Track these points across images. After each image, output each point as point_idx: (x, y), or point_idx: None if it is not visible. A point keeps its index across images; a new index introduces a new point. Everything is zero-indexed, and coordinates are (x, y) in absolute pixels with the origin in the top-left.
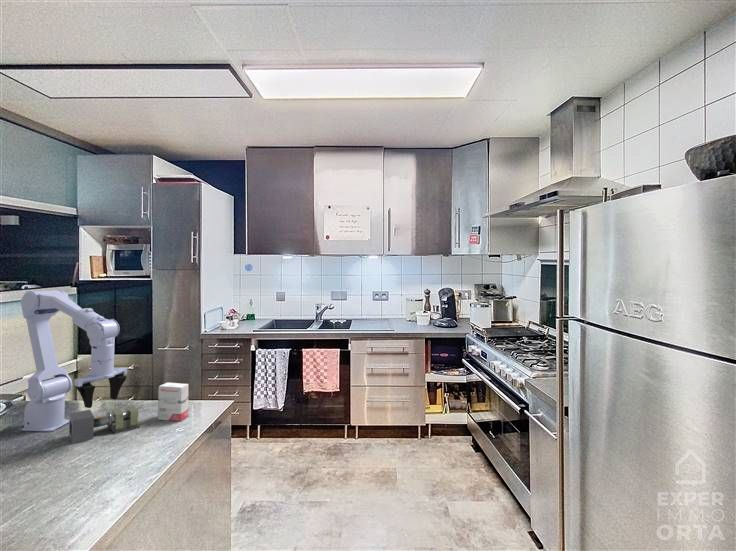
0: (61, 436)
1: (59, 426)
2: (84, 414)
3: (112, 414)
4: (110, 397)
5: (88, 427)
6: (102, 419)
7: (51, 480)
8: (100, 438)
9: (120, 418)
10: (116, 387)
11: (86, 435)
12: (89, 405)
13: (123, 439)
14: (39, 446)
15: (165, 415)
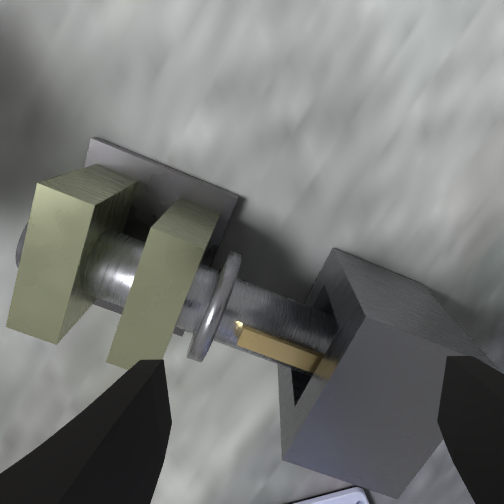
0: None
1: (317, 500)
2: (369, 406)
3: (188, 314)
4: (168, 434)
5: (373, 289)
6: (265, 310)
7: None
8: (313, 213)
9: (179, 224)
10: (87, 494)
11: (369, 271)
12: (496, 372)
13: (261, 60)
14: None
15: None
